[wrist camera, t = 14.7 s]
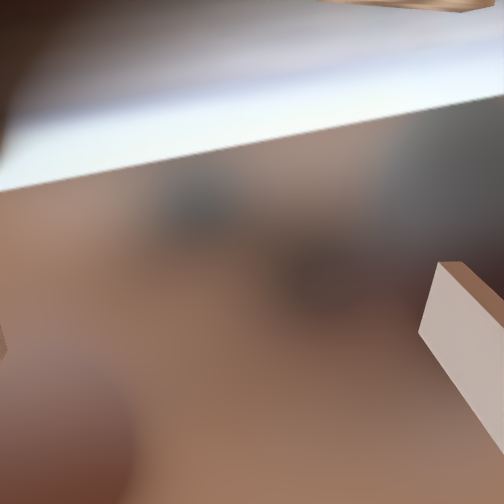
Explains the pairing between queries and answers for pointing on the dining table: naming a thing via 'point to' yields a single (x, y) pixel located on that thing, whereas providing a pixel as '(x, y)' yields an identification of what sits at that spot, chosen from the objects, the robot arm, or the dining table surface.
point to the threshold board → (424, 4)
